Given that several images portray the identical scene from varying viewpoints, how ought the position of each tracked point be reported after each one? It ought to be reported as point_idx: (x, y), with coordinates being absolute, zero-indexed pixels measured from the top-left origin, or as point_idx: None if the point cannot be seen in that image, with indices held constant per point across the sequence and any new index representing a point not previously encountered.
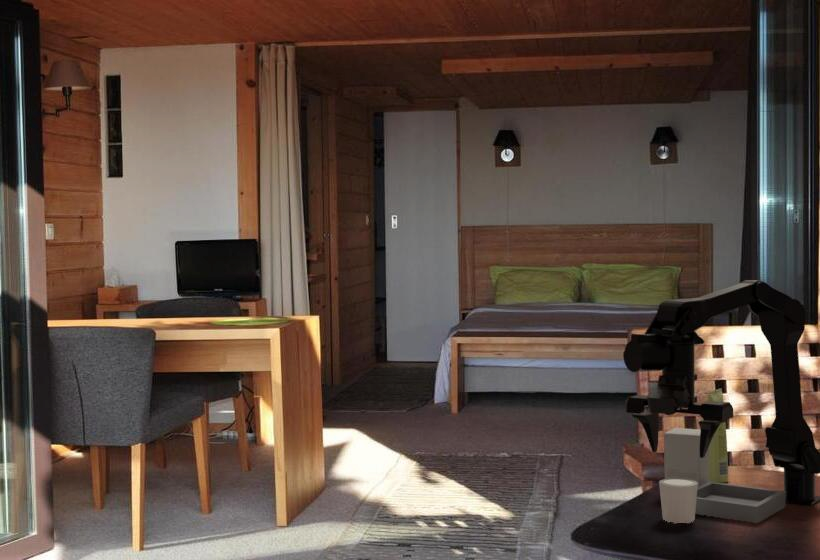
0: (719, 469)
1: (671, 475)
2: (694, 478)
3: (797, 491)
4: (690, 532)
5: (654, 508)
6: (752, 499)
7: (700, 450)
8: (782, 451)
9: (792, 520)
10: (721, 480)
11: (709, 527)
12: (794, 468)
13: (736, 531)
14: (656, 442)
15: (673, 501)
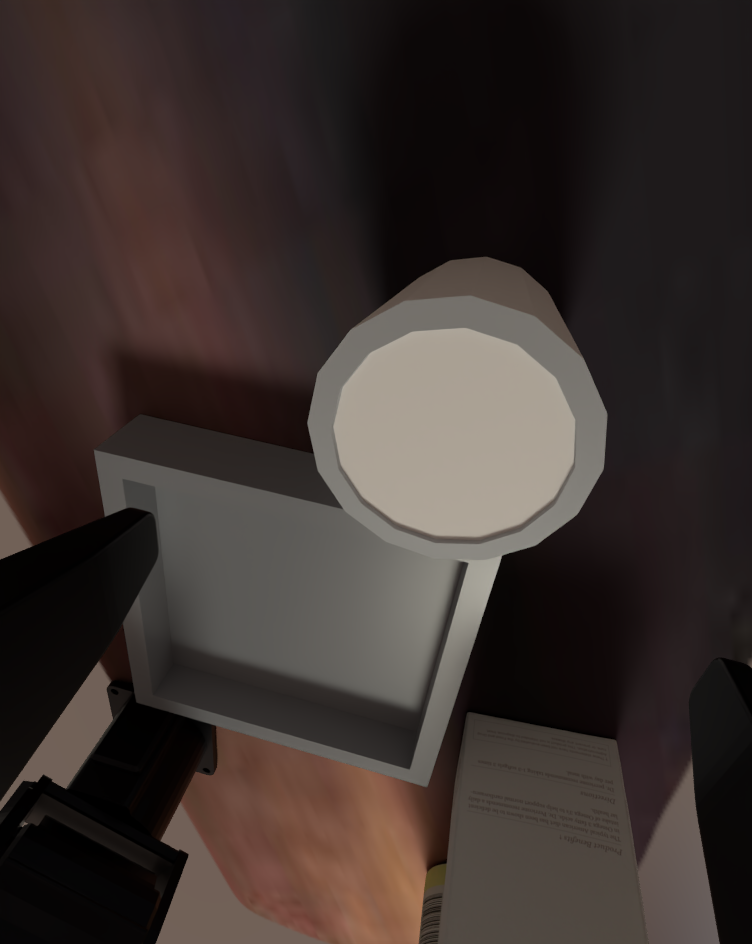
0: (441, 914)
1: (594, 816)
2: (482, 788)
3: (122, 721)
4: (337, 66)
5: (638, 525)
6: (260, 678)
7: (88, 548)
8: (70, 884)
9: (67, 503)
10: (439, 871)
11: (283, 250)
12: (95, 815)
13: (146, 228)
14: (723, 801)
15: (469, 275)
